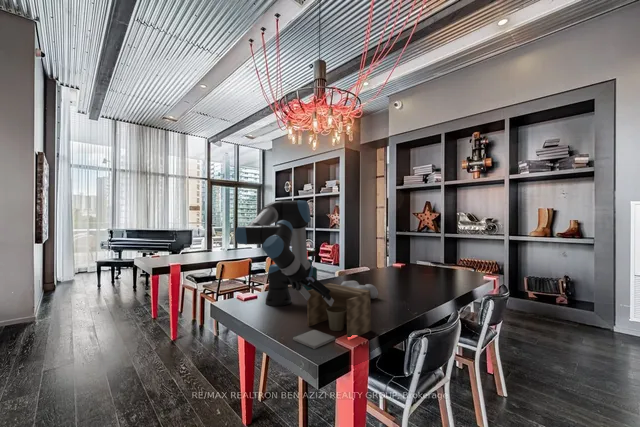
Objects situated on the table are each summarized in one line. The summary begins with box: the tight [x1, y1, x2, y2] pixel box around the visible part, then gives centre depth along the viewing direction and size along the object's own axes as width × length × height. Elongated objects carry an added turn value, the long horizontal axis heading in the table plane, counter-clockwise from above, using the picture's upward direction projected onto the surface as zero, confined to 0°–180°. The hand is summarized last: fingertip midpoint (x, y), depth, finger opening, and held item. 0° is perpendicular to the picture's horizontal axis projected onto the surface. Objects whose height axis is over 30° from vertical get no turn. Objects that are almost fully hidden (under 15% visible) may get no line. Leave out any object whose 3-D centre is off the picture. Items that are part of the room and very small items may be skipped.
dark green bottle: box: [301, 259, 318, 291], centre depth 198 cm, size 10×8×22 cm
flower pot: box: [326, 306, 347, 332], centre depth 127 cm, size 9×9×9 cm
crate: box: [306, 282, 372, 338], centre depth 128 cm, size 15×24×17 cm, turn 46°
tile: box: [292, 329, 336, 350], centre depth 115 cm, size 12×12×1 cm
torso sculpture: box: [340, 280, 379, 300], centre depth 186 cm, size 16×11×30 cm
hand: (320, 300), depth 120 cm, fingers open, 13 cm apart
